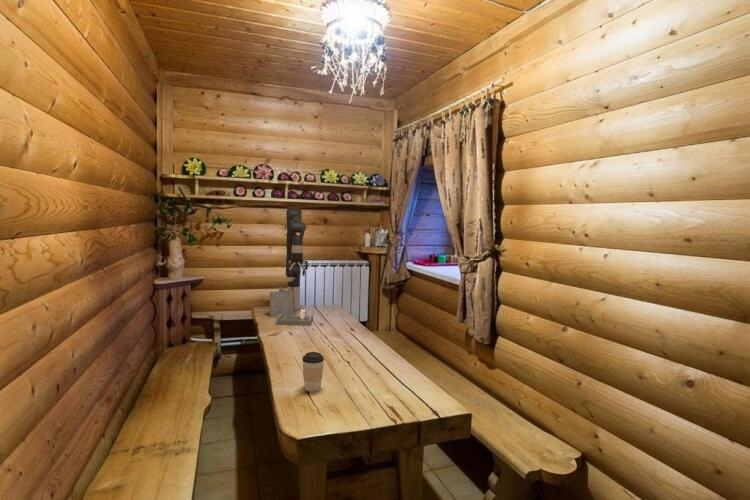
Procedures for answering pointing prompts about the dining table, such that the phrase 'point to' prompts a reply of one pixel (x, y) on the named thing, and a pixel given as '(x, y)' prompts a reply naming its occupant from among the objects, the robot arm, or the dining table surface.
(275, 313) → the grey upright panel
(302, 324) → the console
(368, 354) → the dining table surface
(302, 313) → the fader tab
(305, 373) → the coffee cup
